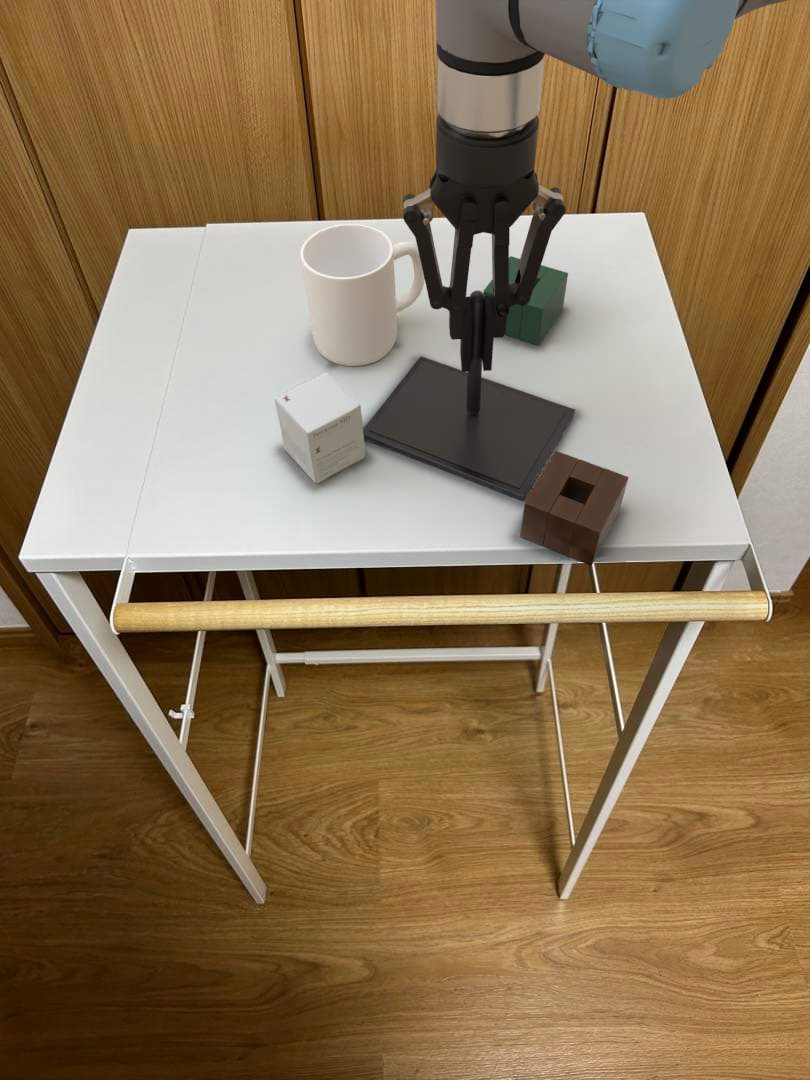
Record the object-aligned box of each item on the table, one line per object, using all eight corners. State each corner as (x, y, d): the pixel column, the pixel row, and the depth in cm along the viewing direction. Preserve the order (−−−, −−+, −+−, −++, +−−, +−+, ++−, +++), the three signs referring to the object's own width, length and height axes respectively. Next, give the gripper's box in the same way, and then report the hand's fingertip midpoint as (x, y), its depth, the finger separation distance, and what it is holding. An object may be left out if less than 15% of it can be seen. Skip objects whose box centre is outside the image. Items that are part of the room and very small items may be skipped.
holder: (619, 511, 78) (629, 476, 74) (591, 566, 74) (600, 532, 70) (549, 485, 80) (555, 450, 76) (519, 537, 76) (524, 502, 72)
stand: (562, 309, 96) (568, 272, 91) (538, 346, 92) (543, 309, 88) (507, 292, 98) (510, 255, 94) (481, 327, 94) (483, 290, 90)
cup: (300, 330, 95) (285, 240, 85) (405, 291, 98) (402, 201, 89) (336, 379, 90) (324, 290, 80) (445, 336, 93) (446, 246, 84)
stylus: (482, 411, 85) (487, 289, 75) (476, 419, 84) (481, 297, 74) (469, 407, 86) (473, 286, 75) (463, 415, 85) (467, 293, 74)
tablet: (574, 414, 86) (575, 408, 85) (522, 501, 79) (523, 495, 78) (420, 360, 91) (420, 355, 90) (360, 437, 85) (359, 432, 84)
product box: (315, 486, 81) (306, 434, 75) (283, 449, 84) (271, 396, 78) (367, 457, 83) (362, 404, 77) (334, 423, 86) (326, 369, 80)
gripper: (579, 84, 63) (546, 332, 82) (388, 92, 63) (399, 338, 82) (595, 135, 58) (556, 385, 77) (389, 144, 58) (401, 391, 77)
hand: (475, 361), depth 79 cm, fingers closed on stylus
